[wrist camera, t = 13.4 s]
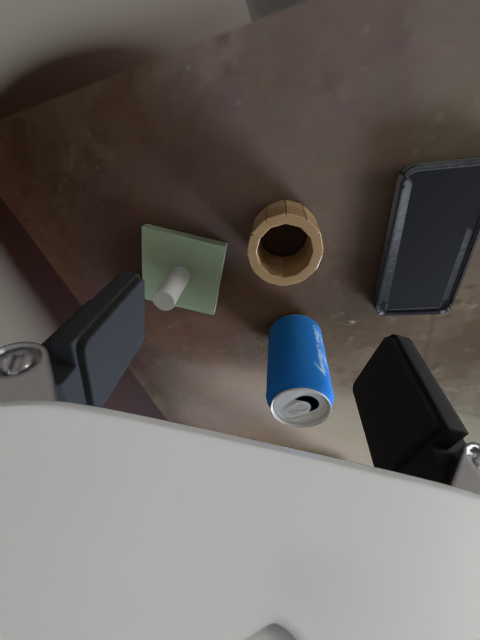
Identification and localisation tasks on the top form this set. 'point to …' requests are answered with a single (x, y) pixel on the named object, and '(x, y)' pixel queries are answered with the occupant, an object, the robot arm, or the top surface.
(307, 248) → the ring
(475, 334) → the top surface
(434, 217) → the phone
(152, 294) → the post stand
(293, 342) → the beverage can
